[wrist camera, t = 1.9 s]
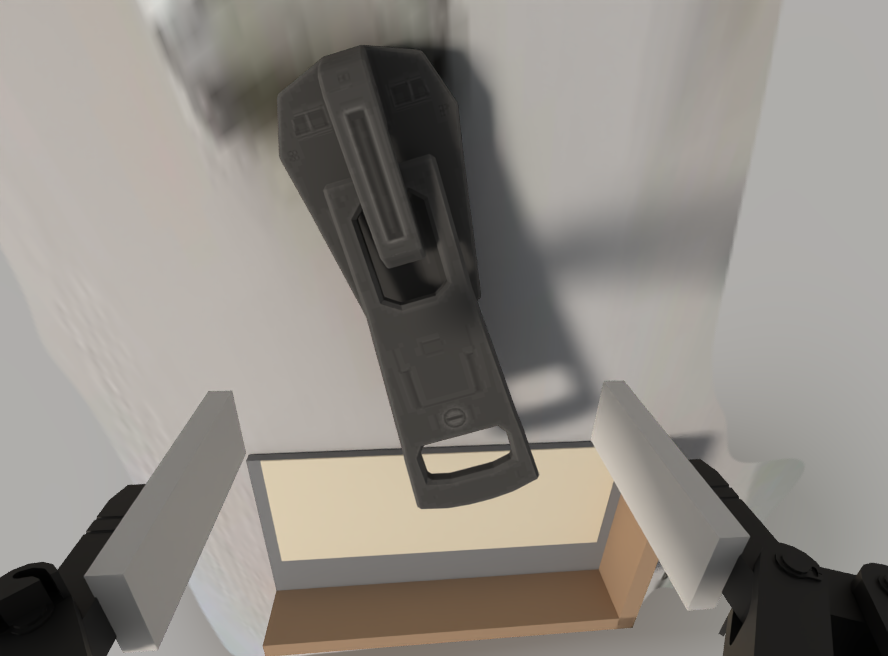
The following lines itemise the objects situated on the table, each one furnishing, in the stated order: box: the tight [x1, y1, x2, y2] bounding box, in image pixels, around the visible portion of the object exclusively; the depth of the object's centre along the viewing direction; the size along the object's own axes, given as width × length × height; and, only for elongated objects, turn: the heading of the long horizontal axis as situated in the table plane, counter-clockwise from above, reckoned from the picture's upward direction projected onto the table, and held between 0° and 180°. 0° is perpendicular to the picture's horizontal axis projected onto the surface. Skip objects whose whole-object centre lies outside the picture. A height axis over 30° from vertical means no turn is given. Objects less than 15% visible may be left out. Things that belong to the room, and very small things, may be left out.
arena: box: [246, 442, 659, 656], centre depth 35 cm, size 16×30×5 cm, turn 89°
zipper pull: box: [277, 45, 539, 509], centre depth 24 cm, size 9×7×25 cm
